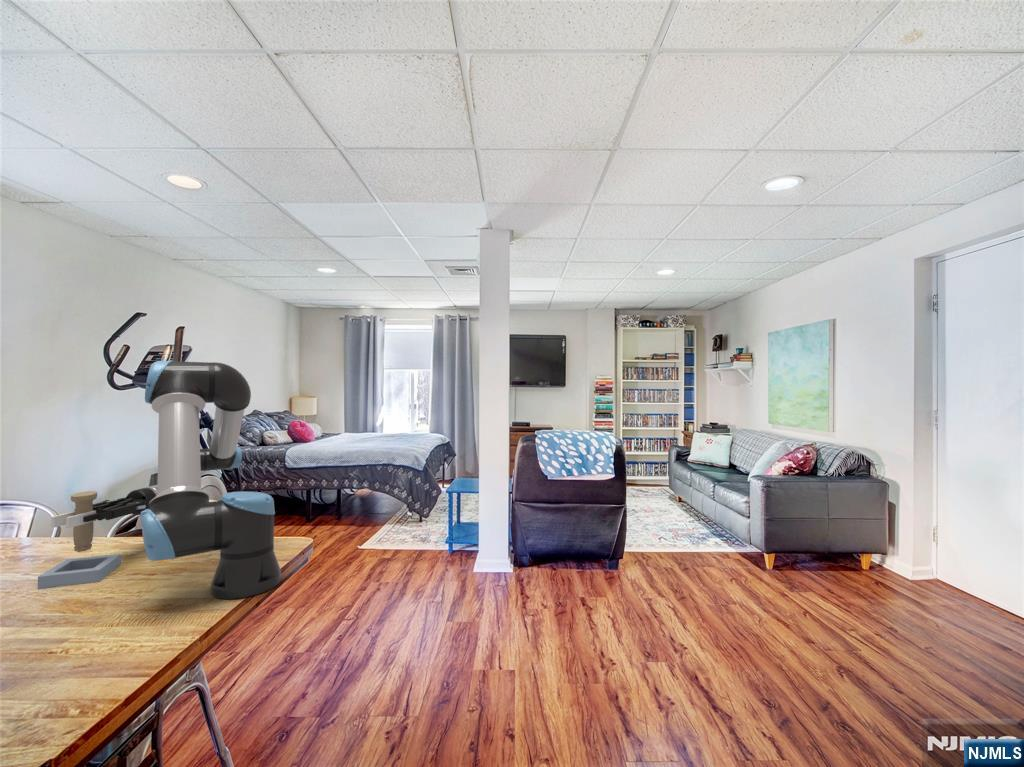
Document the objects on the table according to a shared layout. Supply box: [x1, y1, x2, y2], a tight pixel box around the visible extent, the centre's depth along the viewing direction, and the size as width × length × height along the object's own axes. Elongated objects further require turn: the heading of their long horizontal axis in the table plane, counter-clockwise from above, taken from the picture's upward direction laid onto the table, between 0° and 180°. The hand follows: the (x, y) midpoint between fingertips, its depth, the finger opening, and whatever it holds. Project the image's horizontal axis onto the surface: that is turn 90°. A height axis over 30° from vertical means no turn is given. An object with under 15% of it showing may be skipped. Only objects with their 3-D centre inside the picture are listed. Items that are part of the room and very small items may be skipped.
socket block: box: [37, 553, 122, 590], centre depth 116 cm, size 12×12×3 cm
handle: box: [70, 490, 98, 553], centre depth 117 cm, size 5×6×15 cm
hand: (60, 522), depth 111 cm, fingers closed on handle, 3 cm apart
